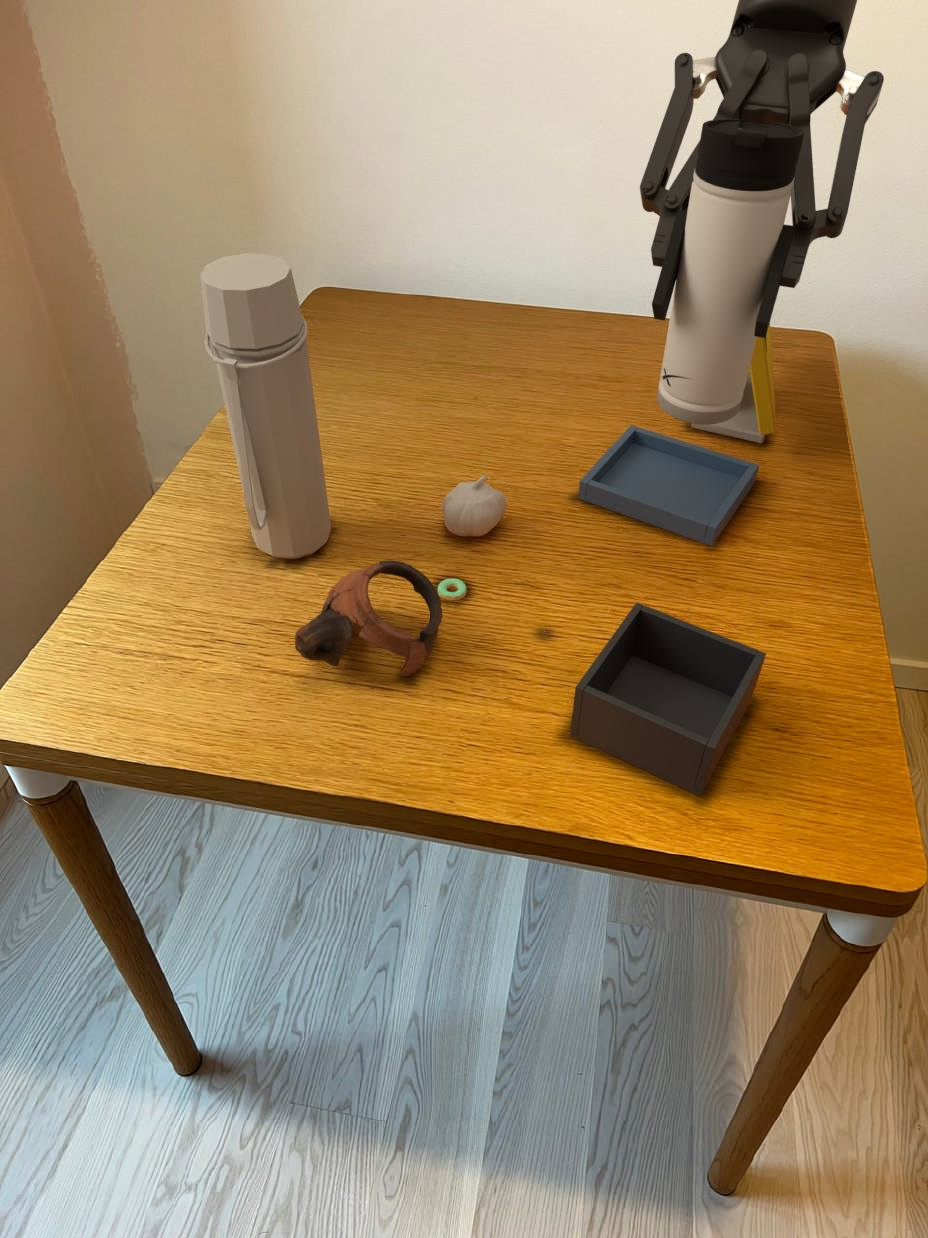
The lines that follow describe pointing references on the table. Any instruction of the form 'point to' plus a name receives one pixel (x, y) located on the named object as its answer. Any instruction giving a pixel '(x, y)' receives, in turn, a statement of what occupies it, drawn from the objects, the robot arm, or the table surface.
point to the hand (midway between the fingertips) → (709, 320)
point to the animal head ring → (369, 619)
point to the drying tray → (669, 484)
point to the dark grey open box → (666, 696)
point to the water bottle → (268, 399)
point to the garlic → (473, 508)
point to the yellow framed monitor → (753, 399)
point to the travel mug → (725, 265)
